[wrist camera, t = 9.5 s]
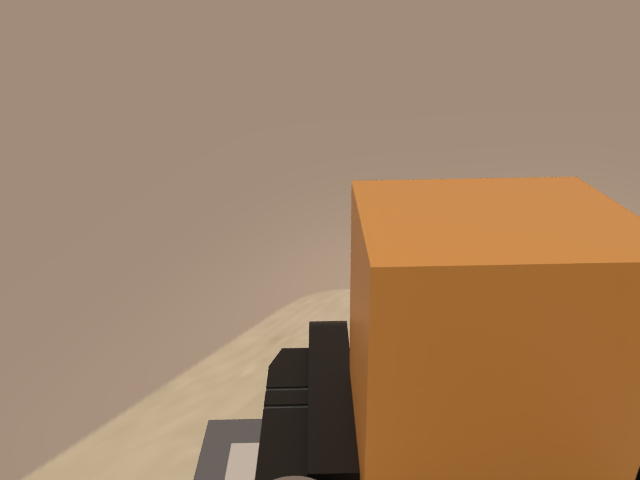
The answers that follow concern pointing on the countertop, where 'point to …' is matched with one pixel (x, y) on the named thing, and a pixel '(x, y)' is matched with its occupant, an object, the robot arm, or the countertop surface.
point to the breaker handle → (494, 330)
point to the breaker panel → (229, 450)
